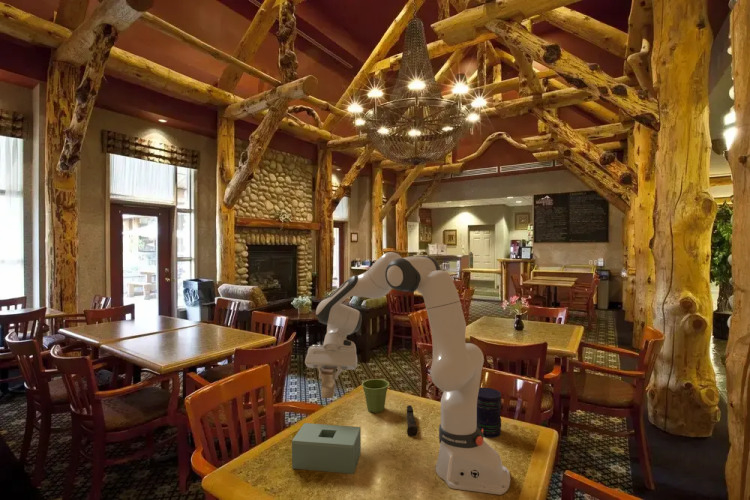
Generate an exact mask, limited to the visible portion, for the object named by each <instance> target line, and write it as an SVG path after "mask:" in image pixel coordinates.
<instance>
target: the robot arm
mask: <svg viewBox="0 0 750 500" xmlns="http://www.w3.org/2000/svg"><path fill="white" fill-rule="evenodd" d="M392 290H395V291H401V292H407V293H414V292H416V291H417V292H419V293H420V294H421V296H422V298H423V300H424V306H425V310H426V313H427V318H428V322H429V326H430V329H431V330H430V332H431V337H432V338H431V340H432V341H431V343H432V363H431V367H430V369H429V370H430V371H429V373H430V374H429V376H430V378H431V381H432V383H433V384H434V386H435V387H436V388H437V389H439V390H441V391H442V396H441V398H440V424H439V426H438V427H439V428H438V440H439V450H438V457H437V461H436V464H435V469H434V470H435V472H436V474H437V476H438V477H439V478H441V479H442V480H443V481H444V482H445V483H446V484H447V486H448V487H449V488H450V489H455V490H462V491H469V492H476V493H484V494H491V495H492V494H493V495H503V494H505V493H507V491H508V490H509V488H510V486H511V474H510V471H509V469H508V468H507V467H506V466H504V465H503V463H502V459H501V456H500V453H499V452H498V451H497V450H496V449H494V448H493V447H492V446H490V445H489V443H488V442H486V441H485V440H484V437H483V428H482V431H481V430H480V429H479V428H478V427H477V398H478V392H479V388H480V387H481V386H480V384H481V380H482V379H481V378H482V369H483V366H484V362H485V358H484V357H485V356H484V353H483V351H482V349H481V348H480V347H479V346H478V345H476V344H474V343H470V342H466V329H467V322H466V319H465V316H464V315H465V314H464V311H463V307H462V303H461V299H460V295H459V292H458V290H457V287H456V284H455V283H454V281H453V278H452V276H451V275H450V273H448V272H447V271H445V270H442V269H441V265H440V263H439V262H438V260H437V259H435V258H434V257H431V256H427V255H421V256H406V257H402V256H401V255H400V254H398V253H397V252H394V251H389V252H388V251H387V252H385V253H384V254H382V255H381V256H380V257H379V258H377V260H375V261H374V263H373V264H372V265H371V266H370V267H369V269H367V270H366V271H365V272H363V273H361V274H358V275H352V276H350V277H349V278H348V279H346V280H345V281H344V282H343V283H341V285H340V286H338V287H337V288H336V289H335V290H334V291H333V292H332V293H331V294H330V295H328V296H327V297H325V298H323V299H321V301H320V302H319V303H318V305H317V306H316V308H315V309H316V310H315V317H316V319H317V321H318V322H319V323H320V324H324V325H327V327H326V334H325V335H324V340H323V343H322V344H312V345H310V346H308V349H307V354H306V356H305V360H304V364H305V365H306V367H307V368H311V369H317V370H318V372H319V373H318V378H319V379H320V380H322V370H323V369H324V368H335V370H337V371H335V373H333V379H335V381H337V380H338V378H339V375H340V374H341V373H342V371H343V370H347V371H348V370H350V371H351V370H352V371H355V370H356V369H357V366H358V355H357V347H356V344H355V342H354V341H352V340H349V339H347V337H348V336H350V335H353V334H354V333H357V332H358V331H359V330H360V328H361V325H362V321H363V318H362V317H363V316H362V314H361V313H362V312H360V310H358V309H356V308H353V307H351V306H349V305H346V304H343V302H344V301H345V300H347V299H348V298H350V297H360V298H366V299H370V300H371V299H373V300H376V299H381V298H383V297H385V296H387V295H388V294H389V293H390V292H391V291H392Z"/></svg>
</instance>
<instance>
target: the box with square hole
mask: <svg viewBox="0 0 750 500" xmlns="http://www.w3.org/2000/svg"><path fill="white" fill-rule="evenodd" d="M361 429H362V427H361V426H352V425H351V426H350V425H349V426H348V425H334V424H321V423H309V422H308V423H305V422H304V423H303V425H302V426H301V427H300V429H299V430H298V431H297V433H296V435H294V437H293V439H292V440H291V468H292V469H295V470H306V471H316V472H326V473H327V472H330V473H337V474H338V473H339V474H351V475H353V474H354V473H355V471H356V468H357V464H358V462H359V459H360V457H361V453H362V451H361V450H362V449H361V448H362V446H361V444H362V443H361V441H362V440H361V438H362V437H361V433H362V432H361V431H362V430H361Z"/></svg>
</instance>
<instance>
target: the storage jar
mask: <svg viewBox="0 0 750 500" xmlns="http://www.w3.org/2000/svg"><path fill="white" fill-rule="evenodd" d="M501 409H502V393H501V391H499V390H497V389H495V388H492V387H491V388H490V387H479V392H478V398H477V427H478V428H479V429H480V430H481V431H482V428H483V438H488V439H495V438H498V437H500V436H501V435H502V418H501Z"/></svg>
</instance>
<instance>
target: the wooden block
mask: <svg viewBox="0 0 750 500" xmlns="http://www.w3.org/2000/svg"><path fill="white" fill-rule="evenodd" d="M335 370H336V369H335V368H323V369H322V371H321V373H322V379H321V398H322V399H333V398H334V396H335V394H336V390H335V389H336V383H335V382H336V379H333V373H336V371H335Z"/></svg>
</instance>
